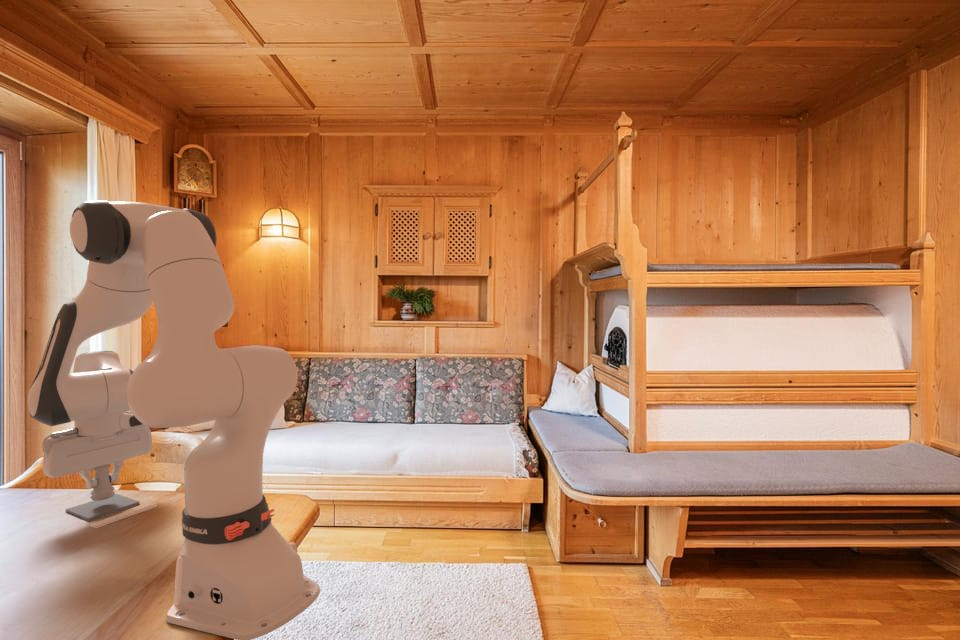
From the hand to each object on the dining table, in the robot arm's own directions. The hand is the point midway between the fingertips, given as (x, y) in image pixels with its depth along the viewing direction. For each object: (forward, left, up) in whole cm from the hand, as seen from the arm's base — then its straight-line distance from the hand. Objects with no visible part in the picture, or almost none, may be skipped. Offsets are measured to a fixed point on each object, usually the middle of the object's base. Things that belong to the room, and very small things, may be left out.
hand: (102, 484), depth 113 cm
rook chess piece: (0, 0, -3) cm, 3 cm away
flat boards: (-2, 0, -5) cm, 6 cm away
